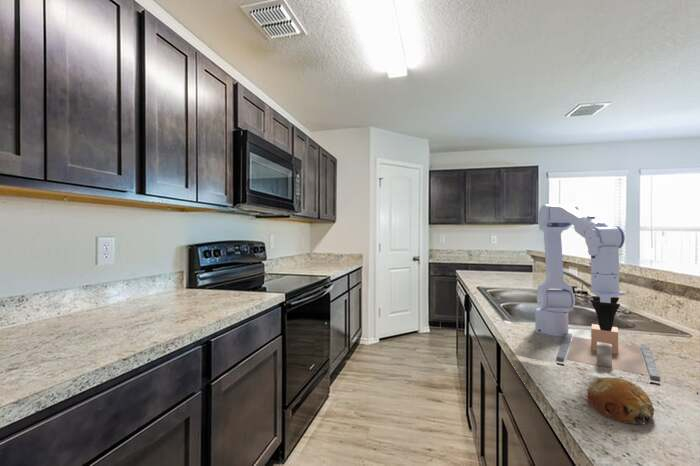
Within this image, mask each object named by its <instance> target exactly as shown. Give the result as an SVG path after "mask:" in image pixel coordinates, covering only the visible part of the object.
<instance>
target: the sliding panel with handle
mask: <svg viewBox="0 0 700 466" xmlns="http://www.w3.org/2000/svg"><path fill="white" fill-rule="evenodd" d="M568 349H569V350H568V351H567V354H566V357H565V358H566V361H567V360H568V361H573V362H577V363H583V364H587V365H592V366H598V367H603V368H608V369H612V370H613V369H614V370H619V371H624V372H628V373H634V374H639V375H644V376H648V371H647V370H646V364H645V361H644V357H643V354H642V352H641V347H640V346H636V345H629V344H623V343H618V354H615V353H612V344H607V343H601V342H597V350H591V338H584V337H578V336H572V338H571V341H570V345H569V348H568Z"/></svg>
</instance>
